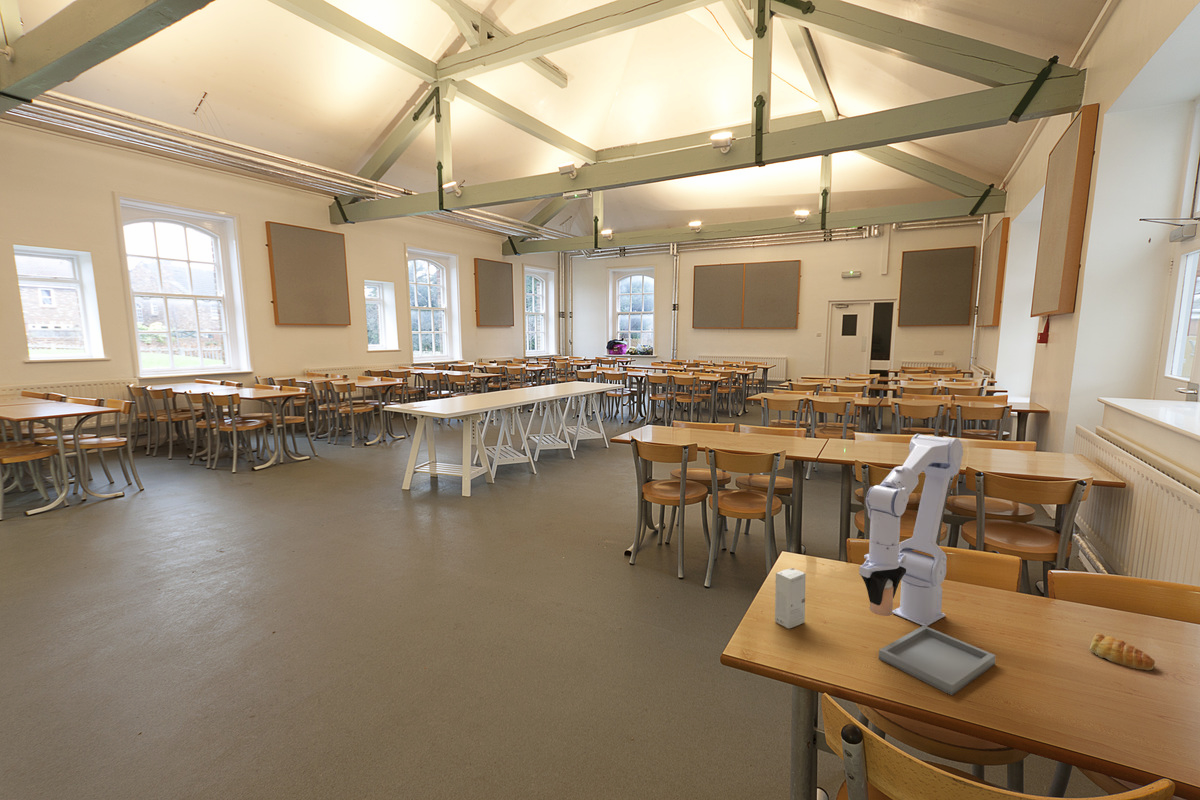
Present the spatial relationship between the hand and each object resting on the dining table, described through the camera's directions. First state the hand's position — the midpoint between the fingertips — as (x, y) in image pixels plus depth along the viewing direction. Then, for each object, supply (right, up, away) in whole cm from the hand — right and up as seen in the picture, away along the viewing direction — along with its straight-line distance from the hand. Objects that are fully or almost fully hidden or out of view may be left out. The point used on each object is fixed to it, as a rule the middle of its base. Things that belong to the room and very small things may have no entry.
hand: (881, 600), depth 116 cm
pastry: (+46, -10, -6) cm, 48 cm away
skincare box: (-17, -9, +9) cm, 21 cm away
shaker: (0, -2, 0) cm, 2 cm away
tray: (+8, -10, -7) cm, 14 cm away
